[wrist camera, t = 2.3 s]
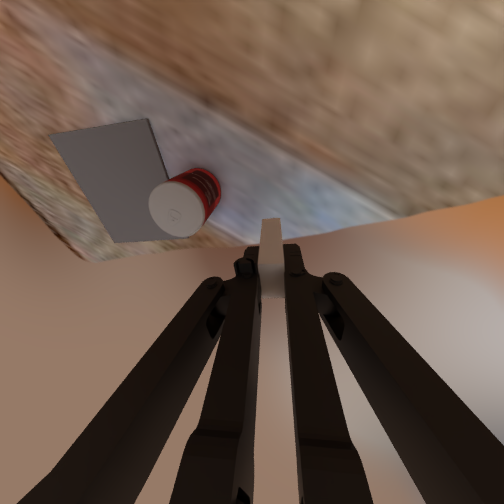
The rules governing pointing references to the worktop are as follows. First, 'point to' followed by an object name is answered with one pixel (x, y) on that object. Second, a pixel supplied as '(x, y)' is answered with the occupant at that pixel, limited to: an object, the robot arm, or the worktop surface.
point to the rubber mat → (117, 176)
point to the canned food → (184, 202)
